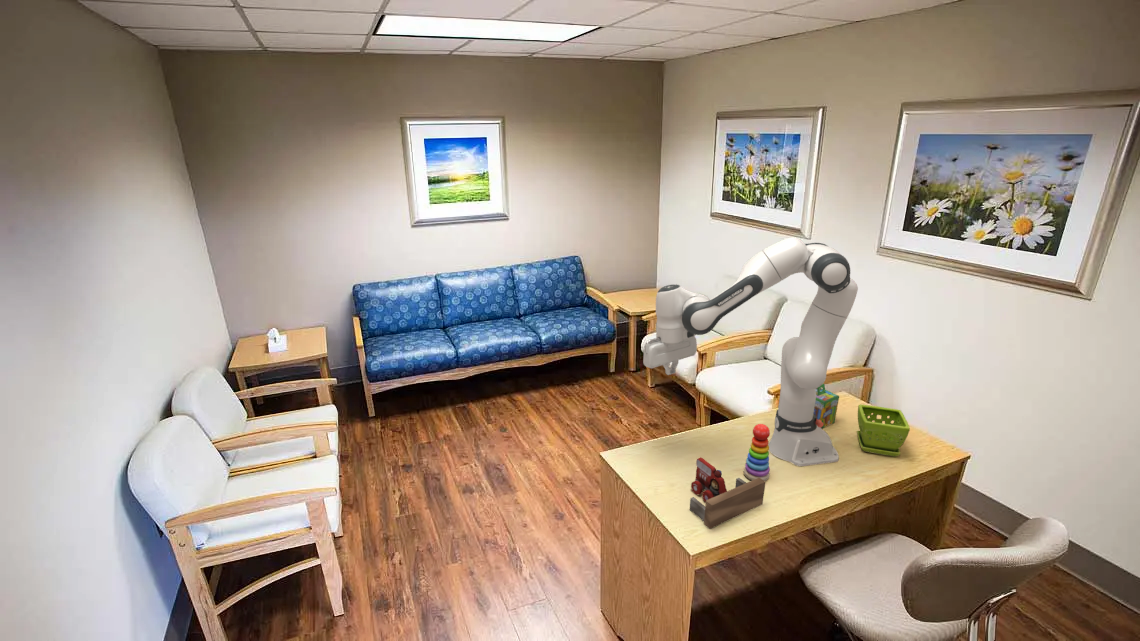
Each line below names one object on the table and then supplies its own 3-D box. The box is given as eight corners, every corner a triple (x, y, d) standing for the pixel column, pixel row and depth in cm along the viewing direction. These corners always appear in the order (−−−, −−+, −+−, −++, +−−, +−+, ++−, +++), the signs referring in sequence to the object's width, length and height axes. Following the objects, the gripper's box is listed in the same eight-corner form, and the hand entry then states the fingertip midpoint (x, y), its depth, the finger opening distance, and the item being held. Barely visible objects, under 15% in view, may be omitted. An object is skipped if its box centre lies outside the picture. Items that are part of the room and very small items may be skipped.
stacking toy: (740, 468, 181) (746, 417, 175) (764, 468, 181) (771, 418, 175) (746, 482, 174) (753, 431, 167) (772, 483, 173) (779, 431, 167)
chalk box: (821, 429, 203) (827, 394, 198) (799, 419, 210) (804, 384, 205) (835, 422, 208) (842, 387, 203) (814, 412, 215) (819, 378, 210)
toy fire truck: (714, 511, 161) (717, 481, 158) (686, 488, 172) (689, 459, 168) (732, 503, 165) (735, 474, 161) (704, 481, 175) (706, 453, 171)
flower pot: (903, 461, 184) (911, 428, 179) (857, 454, 188) (863, 421, 184) (894, 440, 196) (901, 408, 192) (851, 433, 200) (857, 402, 196)
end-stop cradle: (687, 510, 162) (689, 487, 159) (739, 487, 172) (741, 465, 169) (709, 529, 154) (712, 505, 151) (762, 504, 164) (765, 481, 161)
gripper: (650, 343, 172) (652, 384, 176) (699, 329, 182) (699, 368, 186) (638, 338, 177) (639, 378, 181) (686, 325, 187) (687, 363, 191)
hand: (670, 373), depth 184 cm, fingers closed
